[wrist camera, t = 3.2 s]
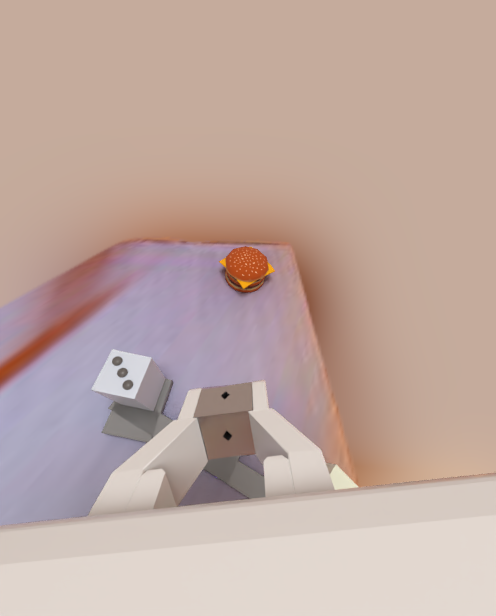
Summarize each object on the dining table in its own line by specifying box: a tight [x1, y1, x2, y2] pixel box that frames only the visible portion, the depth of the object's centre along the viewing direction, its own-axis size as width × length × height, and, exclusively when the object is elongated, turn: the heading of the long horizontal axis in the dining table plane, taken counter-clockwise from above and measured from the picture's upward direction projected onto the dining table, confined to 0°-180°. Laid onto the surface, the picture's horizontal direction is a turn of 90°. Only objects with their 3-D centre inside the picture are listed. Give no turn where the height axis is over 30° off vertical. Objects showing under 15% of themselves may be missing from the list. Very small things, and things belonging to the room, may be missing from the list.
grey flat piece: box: [102, 379, 266, 499], centre depth 34 cm, size 12×36×2 cm, turn 63°
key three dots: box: [91, 349, 166, 411], centre depth 32 cm, size 5×5×10 cm
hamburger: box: [219, 246, 275, 292], centre depth 50 cm, size 9×10×7 cm
